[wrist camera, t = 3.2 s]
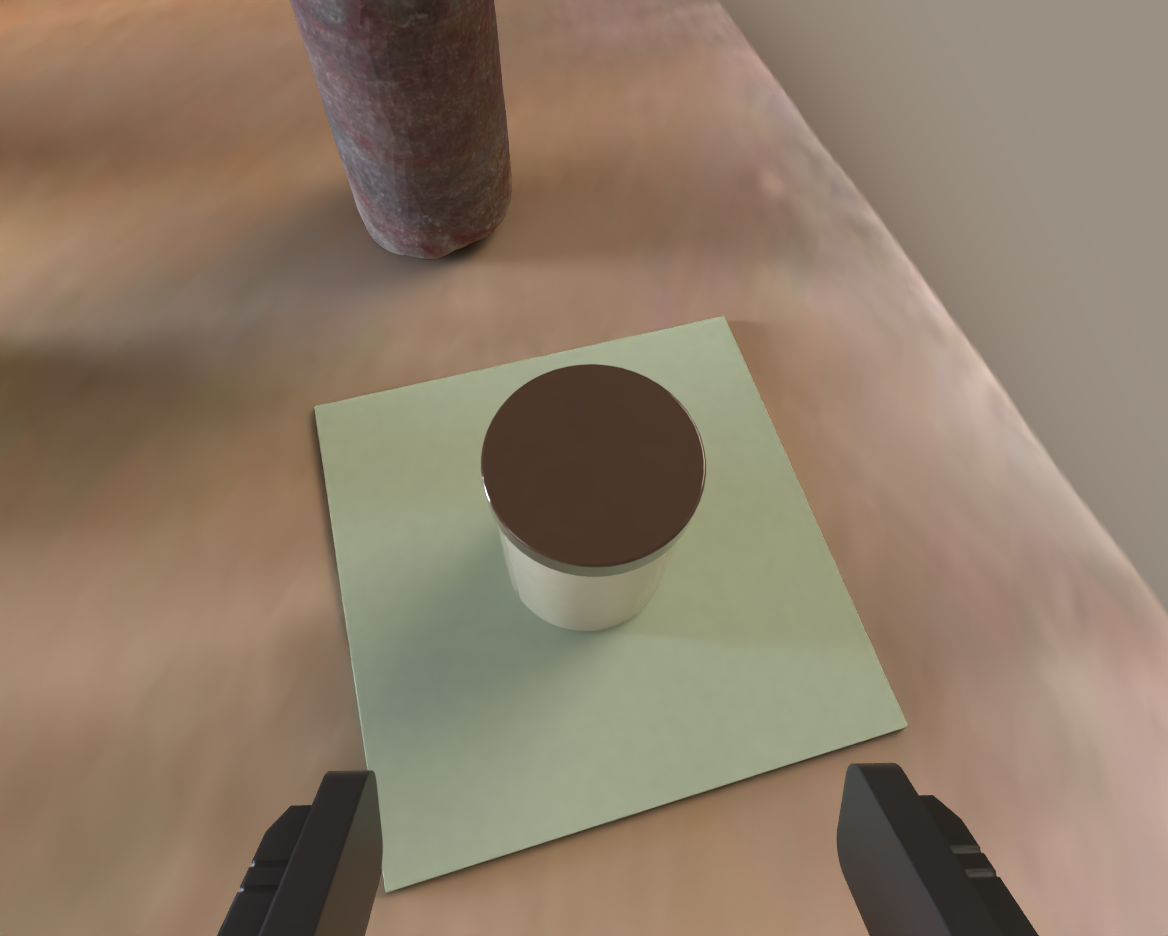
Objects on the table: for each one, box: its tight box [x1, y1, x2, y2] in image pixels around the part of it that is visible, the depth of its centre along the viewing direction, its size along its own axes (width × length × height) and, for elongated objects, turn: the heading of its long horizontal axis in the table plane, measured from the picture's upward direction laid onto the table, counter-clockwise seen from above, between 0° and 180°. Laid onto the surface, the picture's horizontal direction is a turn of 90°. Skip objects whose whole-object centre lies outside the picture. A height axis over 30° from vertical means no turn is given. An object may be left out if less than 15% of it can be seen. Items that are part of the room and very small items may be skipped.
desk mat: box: [314, 316, 908, 893], centre depth 28 cm, size 18×18×1 cm
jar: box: [481, 364, 706, 631], centre depth 24 cm, size 6×6×8 cm
